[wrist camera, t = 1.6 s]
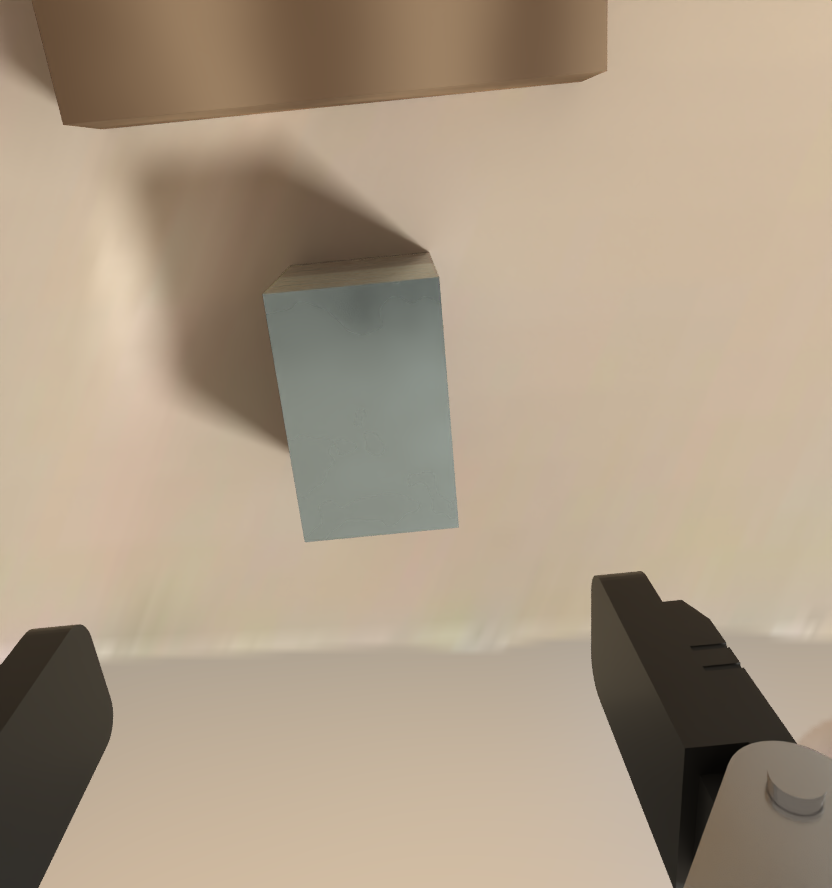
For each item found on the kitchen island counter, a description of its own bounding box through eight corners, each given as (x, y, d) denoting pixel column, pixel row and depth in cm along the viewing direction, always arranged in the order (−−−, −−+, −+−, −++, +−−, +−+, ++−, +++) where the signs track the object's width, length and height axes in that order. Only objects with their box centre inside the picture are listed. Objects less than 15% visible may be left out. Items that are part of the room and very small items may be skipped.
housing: (429, 251, 26) (439, 276, 20) (445, 455, 28) (459, 527, 23) (290, 265, 26) (262, 294, 20) (321, 467, 29) (304, 542, 23)
